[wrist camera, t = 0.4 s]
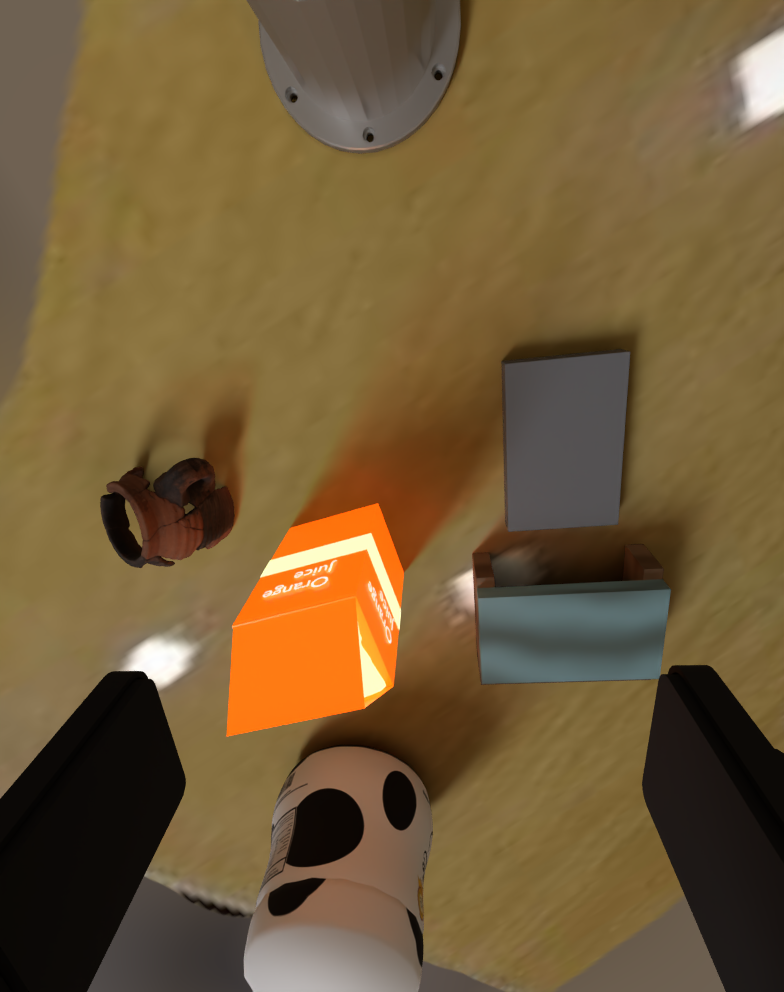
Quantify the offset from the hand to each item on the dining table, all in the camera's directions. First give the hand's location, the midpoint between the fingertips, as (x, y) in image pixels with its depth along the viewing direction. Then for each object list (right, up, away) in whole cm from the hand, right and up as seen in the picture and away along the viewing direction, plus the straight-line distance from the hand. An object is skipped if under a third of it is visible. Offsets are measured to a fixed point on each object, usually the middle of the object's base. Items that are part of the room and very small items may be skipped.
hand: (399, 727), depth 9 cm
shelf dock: (+15, -5, +37) cm, 40 cm away
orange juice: (-4, -1, +37) cm, 37 cm away
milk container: (-4, -30, +49) cm, 57 cm away
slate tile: (+14, +9, +32) cm, 36 cm away
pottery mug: (-19, +5, +36) cm, 41 cm away
